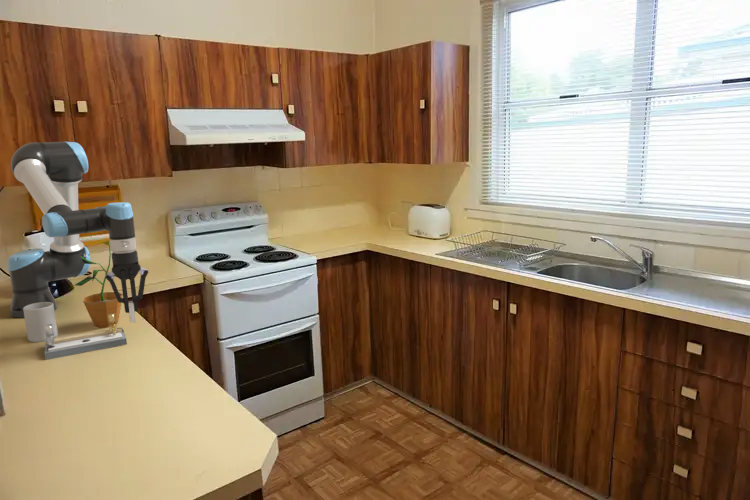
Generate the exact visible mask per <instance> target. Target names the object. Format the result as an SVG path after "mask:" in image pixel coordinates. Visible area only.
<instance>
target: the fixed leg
mask: <svg viewBox="0 0 750 500" xmlns="http://www.w3.org/2000/svg"><path fill="white" fill-rule="evenodd" d="M45 332H46V341H45V343H46V342H47V343H48V344H49V347H51V346H52V342H54V339H56V337H55V338H54V333H53V327H52V324H47V325H45Z"/></svg>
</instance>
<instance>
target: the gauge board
mask: <svg viewBox="0 0 750 500" xmlns="http://www.w3.org/2000/svg"><path fill="white" fill-rule="evenodd" d="M115 331H116V335H113V331H110V329H104V330H99V331H92V332H86V333H80V334H74V335H70V336H64V337H59V338H58V337H56V338H55V339H54V342H52V346H51V347H49V344H48V343H47V342H46V341H45V346H44V357H45V360H50V359H56V358H60V357H61V358H62V357H67V356H72V355H78V354H81V353H82V354H83V353H88V352H94V351H98V350H105V349H109V348H114V347H119V346H120V347H121V346H124V345H125V346H126V345H127V344H128V342H127V337H126V333H125V330H124V328H123V327H117V330H115Z"/></svg>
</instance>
